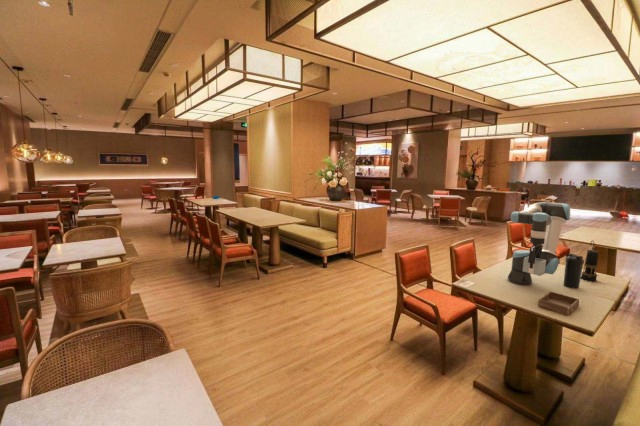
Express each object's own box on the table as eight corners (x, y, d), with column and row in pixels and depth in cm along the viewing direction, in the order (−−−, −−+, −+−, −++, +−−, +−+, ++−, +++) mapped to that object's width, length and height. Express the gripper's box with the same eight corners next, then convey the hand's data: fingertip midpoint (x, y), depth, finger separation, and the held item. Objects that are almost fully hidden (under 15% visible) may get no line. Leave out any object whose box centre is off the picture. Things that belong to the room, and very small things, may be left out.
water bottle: (568, 282, 228) (572, 252, 224) (583, 288, 218) (588, 256, 214) (558, 284, 224) (562, 253, 221) (573, 289, 215) (578, 257, 211)
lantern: (599, 281, 231) (605, 241, 226) (590, 282, 228) (596, 242, 223) (586, 276, 239) (591, 238, 234) (577, 278, 237) (583, 239, 232)
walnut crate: (549, 297, 202) (550, 291, 202) (578, 306, 191) (579, 299, 190) (537, 306, 190) (538, 299, 190) (568, 315, 179) (569, 308, 178)
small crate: (527, 269, 207) (528, 256, 205) (544, 273, 199) (546, 260, 197) (522, 271, 203) (523, 258, 201) (540, 275, 195) (541, 262, 193)
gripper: (537, 234, 206) (533, 267, 209) (524, 238, 194) (520, 273, 198) (550, 236, 200) (546, 270, 203) (538, 240, 188) (533, 276, 192)
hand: (533, 271), depth 201 cm, fingers closed on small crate, 7 cm apart
